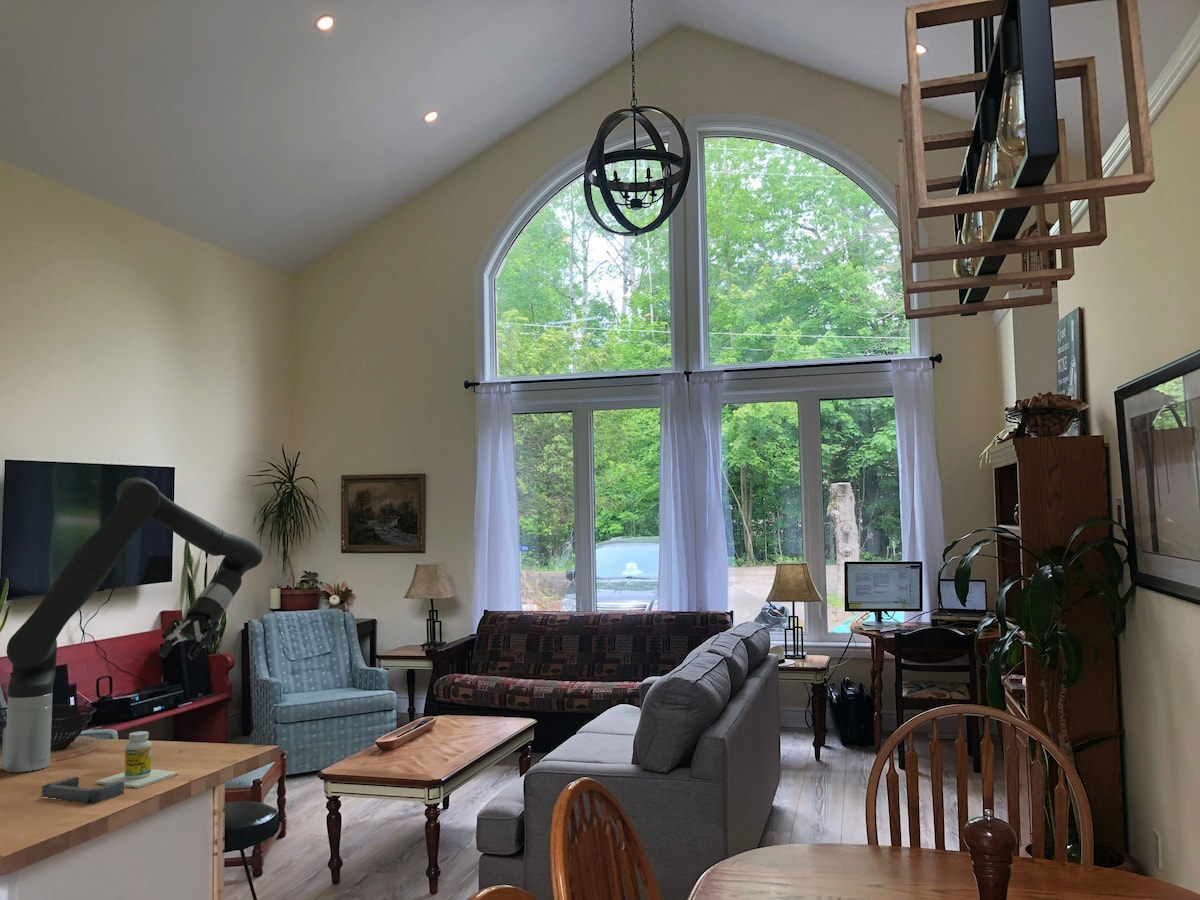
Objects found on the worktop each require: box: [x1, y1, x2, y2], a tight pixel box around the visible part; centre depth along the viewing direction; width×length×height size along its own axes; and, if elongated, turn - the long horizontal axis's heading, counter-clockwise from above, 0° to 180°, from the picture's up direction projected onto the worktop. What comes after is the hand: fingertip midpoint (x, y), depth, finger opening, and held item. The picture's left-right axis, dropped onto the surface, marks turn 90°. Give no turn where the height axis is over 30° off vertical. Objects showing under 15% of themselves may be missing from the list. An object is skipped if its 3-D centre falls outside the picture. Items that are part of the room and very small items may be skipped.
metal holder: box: [41, 776, 125, 805], centre depth 199 cm, size 14×8×2 cm, turn 72°
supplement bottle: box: [124, 730, 153, 779], centre depth 212 cm, size 5×5×10 cm
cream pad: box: [94, 768, 180, 789], centre depth 211 cm, size 12×12×1 cm
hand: (175, 656), depth 227 cm, fingers open, 8 cm apart
